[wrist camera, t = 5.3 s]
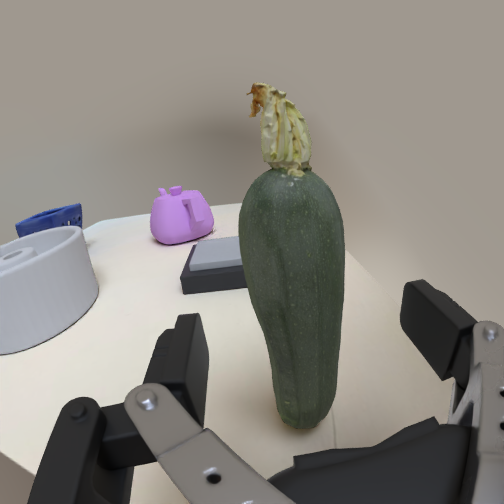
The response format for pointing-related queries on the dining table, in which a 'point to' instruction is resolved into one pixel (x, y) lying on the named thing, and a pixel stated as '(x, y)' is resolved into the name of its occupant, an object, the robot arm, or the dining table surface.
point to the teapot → (180, 216)
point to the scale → (213, 266)
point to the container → (43, 286)
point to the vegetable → (294, 263)
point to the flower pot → (51, 220)
